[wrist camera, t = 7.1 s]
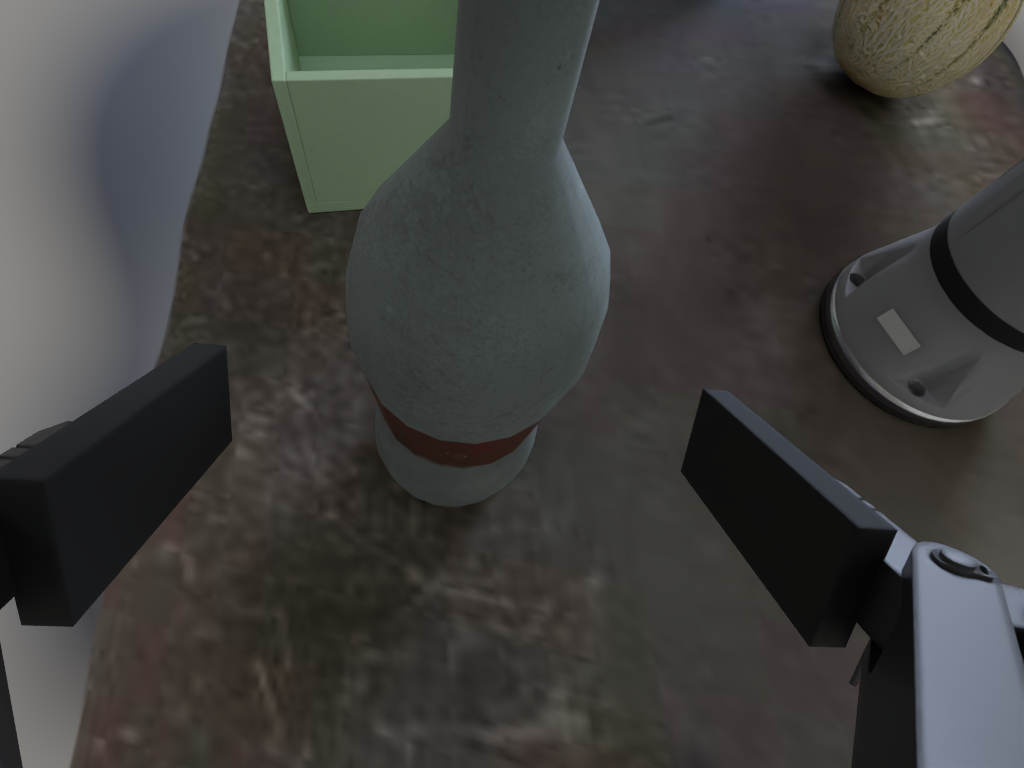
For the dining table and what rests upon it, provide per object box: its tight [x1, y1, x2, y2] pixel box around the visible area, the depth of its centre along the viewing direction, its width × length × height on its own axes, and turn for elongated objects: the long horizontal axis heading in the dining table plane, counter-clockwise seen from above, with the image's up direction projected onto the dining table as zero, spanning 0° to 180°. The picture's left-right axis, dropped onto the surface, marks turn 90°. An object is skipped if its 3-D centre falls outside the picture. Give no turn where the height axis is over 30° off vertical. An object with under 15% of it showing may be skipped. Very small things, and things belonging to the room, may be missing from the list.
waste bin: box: [264, 0, 458, 213], centre depth 41 cm, size 17×17×11 cm
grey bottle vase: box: [345, 0, 610, 507], centre depth 22 cm, size 9×9×30 cm
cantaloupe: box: [832, 0, 1024, 98], centre depth 51 cm, size 15×15×15 cm
